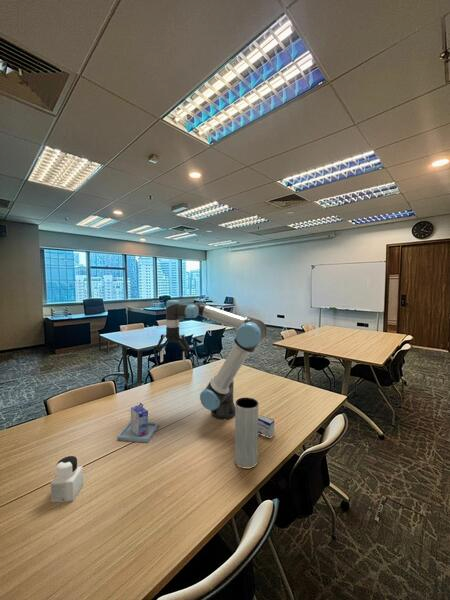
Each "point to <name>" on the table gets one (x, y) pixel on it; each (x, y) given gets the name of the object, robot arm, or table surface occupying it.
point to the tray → (131, 436)
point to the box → (265, 426)
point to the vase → (246, 432)
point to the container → (66, 480)
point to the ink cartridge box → (139, 420)
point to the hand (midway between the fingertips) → (172, 362)
